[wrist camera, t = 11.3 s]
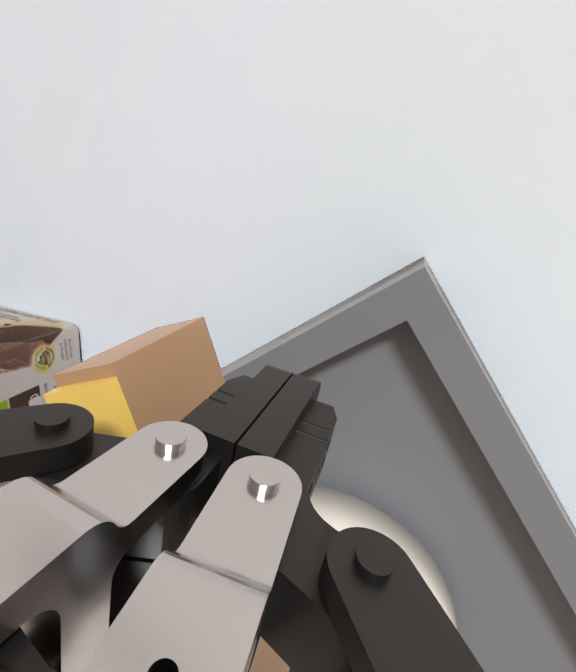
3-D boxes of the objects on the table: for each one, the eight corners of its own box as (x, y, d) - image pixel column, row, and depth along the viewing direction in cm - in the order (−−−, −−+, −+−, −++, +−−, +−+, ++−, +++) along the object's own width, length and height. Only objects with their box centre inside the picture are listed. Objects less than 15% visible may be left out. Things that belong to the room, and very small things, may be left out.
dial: (478, 712, 17) (515, 1031, 11) (239, 675, 22) (158, 885, 15) (379, 263, 13) (335, 324, 6) (105, 330, 17) (-94, 407, 11)
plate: (267, 735, 25) (250, 791, 23) (69, 453, 23) (27, 482, 21) (681, 720, 16) (727, 810, 14) (424, 256, 14) (424, 266, 12)
